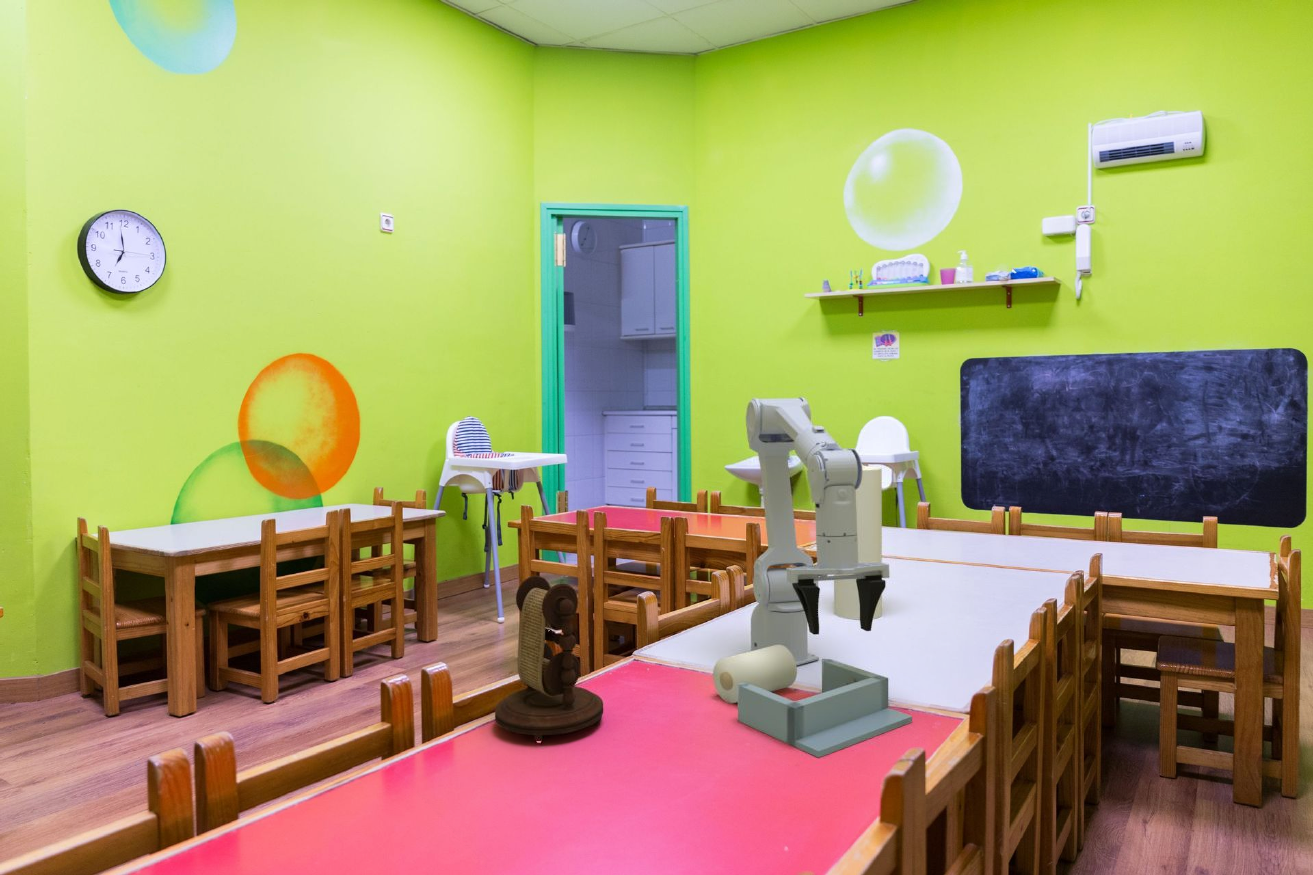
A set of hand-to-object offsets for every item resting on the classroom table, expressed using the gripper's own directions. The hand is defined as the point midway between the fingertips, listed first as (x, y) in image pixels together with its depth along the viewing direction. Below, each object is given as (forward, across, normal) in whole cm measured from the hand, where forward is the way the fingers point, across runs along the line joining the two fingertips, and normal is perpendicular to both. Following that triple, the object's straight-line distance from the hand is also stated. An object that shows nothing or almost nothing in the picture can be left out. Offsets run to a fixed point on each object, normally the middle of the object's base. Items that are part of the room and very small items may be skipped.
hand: (840, 631), depth 119 cm
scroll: (+11, -41, +4) cm, 42 cm away
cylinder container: (+7, +22, +49) cm, 54 cm away
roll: (+7, -10, +9) cm, 15 cm away
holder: (+11, -4, -3) cm, 12 cm away
